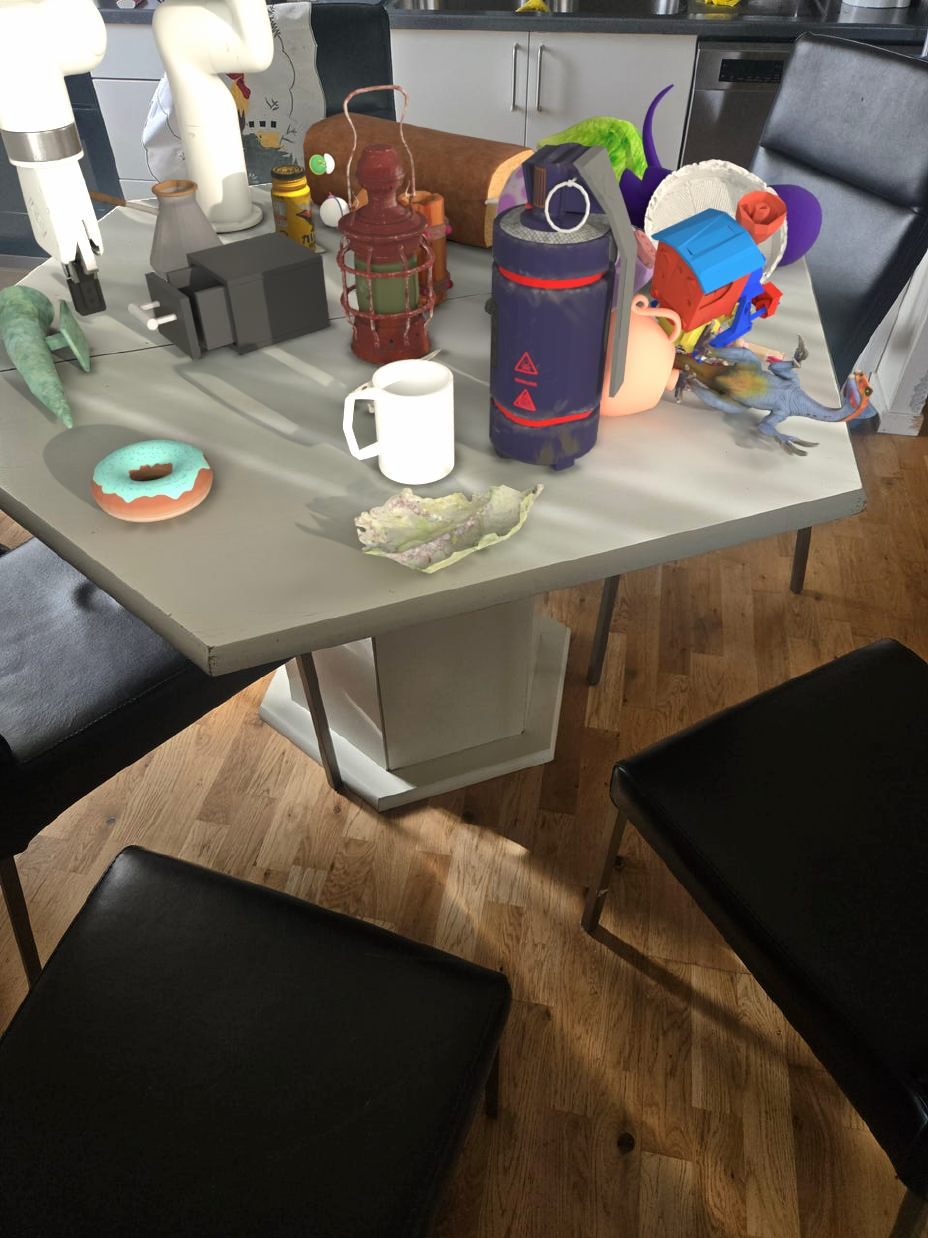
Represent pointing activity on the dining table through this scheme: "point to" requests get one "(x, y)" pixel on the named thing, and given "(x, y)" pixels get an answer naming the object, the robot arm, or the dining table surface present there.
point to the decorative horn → (40, 343)
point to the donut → (139, 500)
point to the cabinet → (268, 288)
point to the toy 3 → (798, 200)
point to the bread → (419, 168)
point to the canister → (558, 305)
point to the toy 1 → (333, 205)
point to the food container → (710, 202)
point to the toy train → (716, 270)
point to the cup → (409, 421)
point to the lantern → (385, 257)
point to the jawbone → (369, 385)
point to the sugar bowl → (642, 361)
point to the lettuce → (607, 142)
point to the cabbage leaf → (443, 525)
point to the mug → (436, 234)
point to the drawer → (188, 310)
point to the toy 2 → (645, 252)
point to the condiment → (293, 205)
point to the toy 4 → (760, 351)
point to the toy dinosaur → (763, 388)
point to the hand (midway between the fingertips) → (91, 310)
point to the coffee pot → (172, 224)
